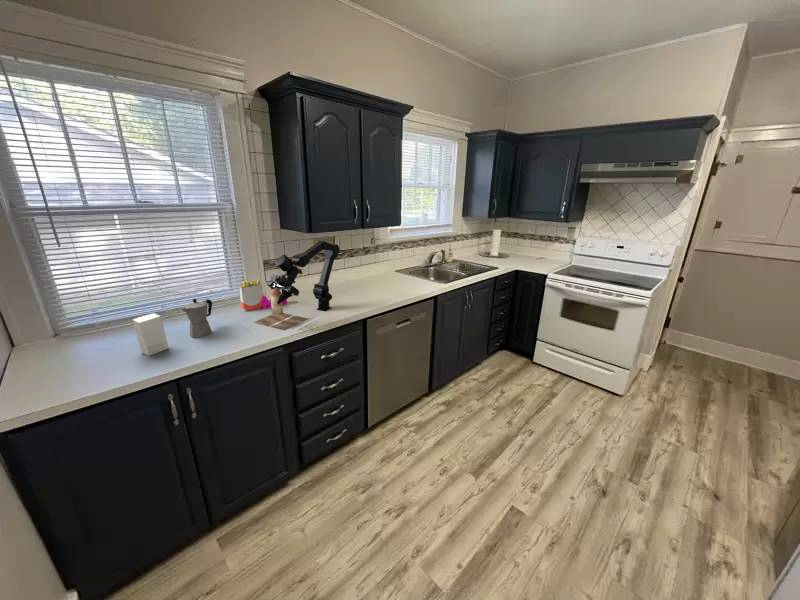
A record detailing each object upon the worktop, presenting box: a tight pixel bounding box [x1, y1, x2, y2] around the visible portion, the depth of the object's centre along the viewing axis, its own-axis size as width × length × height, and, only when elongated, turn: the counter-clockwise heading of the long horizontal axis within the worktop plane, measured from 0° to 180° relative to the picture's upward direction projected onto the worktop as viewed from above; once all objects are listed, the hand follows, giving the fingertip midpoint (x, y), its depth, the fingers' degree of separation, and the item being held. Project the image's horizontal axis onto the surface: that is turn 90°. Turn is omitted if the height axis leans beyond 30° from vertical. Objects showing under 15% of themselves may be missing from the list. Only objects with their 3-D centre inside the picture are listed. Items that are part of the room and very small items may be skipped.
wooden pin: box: [269, 289, 284, 316], centre depth 162 cm, size 5×5×14 cm
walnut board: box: [252, 312, 310, 332], centre depth 172 cm, size 18×22×1 cm
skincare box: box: [132, 313, 169, 356], centre depth 138 cm, size 8×7×16 cm
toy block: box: [261, 291, 288, 310], centre depth 195 cm, size 15×6×8 cm, turn 134°
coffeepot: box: [182, 298, 213, 339], centre depth 155 cm, size 15×9×18 cm, turn 162°
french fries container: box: [239, 279, 263, 312], centre depth 186 cm, size 5×11×18 cm, turn 134°
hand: (274, 302), depth 161 cm, fingers closed on wooden pin, 5 cm apart
